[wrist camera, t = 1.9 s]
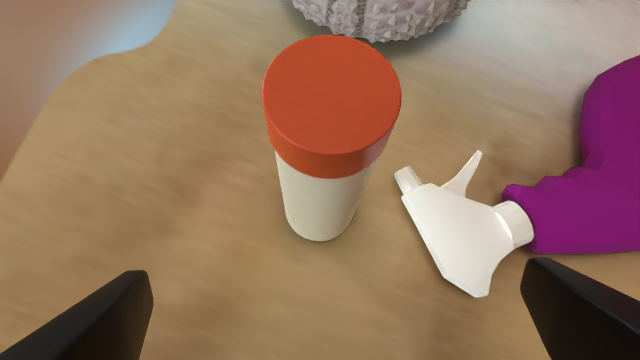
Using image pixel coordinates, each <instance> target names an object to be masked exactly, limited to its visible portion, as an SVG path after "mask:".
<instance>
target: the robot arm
mask: <svg viewBox="0 0 640 360" xmlns="http://www.w3.org/2000/svg"><path fill="white" fill-rule="evenodd" d="M520 291H521V295H522V297H523V300H524V302H525V304H526V306H527V308H528V311H529V313H530V315H531V317H532V319H533V322H534V324H535V326H536V328H537V331H538V333H539V335H540V337H541V339H542V342H543V344H544V346H545V348H546V350H547V352H548V354H549V356H550V358H551V359H552V360H640V301H638V300H636V299H634V298H632V297H630V296H628V295H625V294H623V293H621V292H619V291H617V290H615V289H613V288H611V287H609V286H606V285H604V284H602V283H600V282H598V281H596V280H594V279H592V278H590V277H588V276H585V275H583V274H581V273H579V272H577V271H575V270H573V269H571V268H569V267H567V266H564V265H562V264H560V263H558V262H556V261H554V260H552V259H550V258H547V257H535V258H530V259H528V260H527V262H526V265H525V269H524V273H523V277H522V280H521V285H520ZM152 309H153V295H152V291H151V286H150V282H149V278H148V274H147V272H146V271H144V270H132V271H126V272H124V273H123V274H121V275H120V276H118V277H116V278H115V279H113V280H112V281H110V282H109V283H107V284H106V285H104V286H103V287H101V288H100V289H98V290H97V291H95V292H94V293H92V294H91V295H89V296H88V297H86V298H84V299H83V300H81V301H80V302H78V303H77V304H75V305H74V306H72V307H71V308H69V309H68V310H66V311H65V312H63V313H62V314H60V315H59V316H57V317H55V318H54V319H52V320H51V321H49V322H48V323H46V324H45V325H43V326H42V327H40V328H39V329H37V330H36V331H34V332H33V333H31V334H30V335H28V336H26V337H25V338H23V339H22V340H20V341H19V342H17V343H16V344H14V345H13V346H11V347H10V348H8V349H7V350H5V351H4V352H2V353H1V354H0V360H139V357H140V353H141V350H142V346H143V342H144V339H145V335H146V331H147V328H148V324H149V320H150V317H151V313H152Z"/></svg>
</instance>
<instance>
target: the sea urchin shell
mask: <svg viewBox="0 0 640 360" xmlns="http://www.w3.org/2000/svg"><path fill="white" fill-rule="evenodd" d="M292 1H293V4H294V7H295V8H296V9H298V10H300V11H301V12H303V14H304V16H305V18H306V19H307V20H313V22H314V23H316V24H317V25H318V26H322V25H325V26H328V27H330V29H331V31H332V32H333V34H334V35H339V34H344V35H345V36H346V37H350V38H357V37H362V38H366V39H368V40H369V41H370V42H371V43H373V42H376V41H381V42H384V43H385V42H388V41H390V40H395V41H398V40H402V39H404V40H406V41H408V40H409V39H410V38H411V37H414V38H415V39H416V38H417V37H418V36H420V35H421V34H423V35H424V34H426V33H427V32H434V30H435V28H436V26H437V25H440V24H442V23H443V22H451V21H452V19H453V17H454V16H457V15H461V10H463V9H466V5H467V2H469V1H470V0H292Z"/></svg>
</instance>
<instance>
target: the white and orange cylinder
mask: <svg viewBox="0 0 640 360" xmlns="http://www.w3.org/2000/svg"><path fill="white" fill-rule="evenodd" d="M262 103H263V109H264V114H265V119H266V124H267V129H268V134H269V138H270V141H271V143H272V145H273V147H274V150H275V155H276V161H277V167H278V172H279V178H280V184H281V189H282V195H283V201H284V206H285V212H286V217H287V220H288V222H289V224H290V226H291V227H292V228H293V230H294V231H295V232H296V233H298V234H299V235H300V236H302V237H304V238H306V239H309V240H313V241H327V240H330V239H333V238H335V237H337V236H339V235H340V234H341V233H343V232H344V231H345V230H346V228H347V227H348V226H349V224H350V222H351V220H352V217H353V215H354V212H355V210H356V207H357V205H358V203H359V200H360V198H361V195H362V193H363V190H364V188H365V186H366V183H367V181H368V178H369V176H370V173H371V171H372V168H373V166H374V164H375V161H376V159H377V158H378V157H379V156H380V154H381V153H382V151H383V149H384V147H385V145H386V143H387V141H388V138H389V136H390V134H391V131H392V129H393V127H394V124H395V122H396V120H397V117H398V114H399V111H400V107H401V87H400V83H399V80H398V77H397V75H396V73H395V71H394V69H393V67H392V66H391V64H390V63H389V62H388V61H387V59H386V58H385V57H384V56H383V55H382V54H381V53H380V52H378V51H377V50H376V49H374V48H373V47H371V46H369V45H368V44H366V43H364V42H362V41H359V40H357V39H354V38H350V37H346V36H341V35H319V36H313V37H309V38H305V39H303V40H300V41H298V42H296V43H294V44H292V45H290V46H289V47H287V48H286V49H284V50H283V51H282V52H281V53H280V54H278V56H277V57H276V58H275V59H274V60H273V61H272V63H271V64H270V66H269V68H268V70H267V72H266V74H265V77H264V80H263V84H262Z"/></svg>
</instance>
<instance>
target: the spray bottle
mask: <svg viewBox="0 0 640 360" xmlns="http://www.w3.org/2000/svg"><path fill="white" fill-rule="evenodd" d="M580 147H581V156H582V162H583V163H582V165H581V166H580V167H573V168H570V169H569V170H567V171H566V172H565V173H564V174H563V175H562V176H545V177H544V178H543V179H542V180H541V181H540V182H539V183H538V184H537V185H536V186H535V187H531V186H523V185H516V184H511V185H507V186H506V188H505V189H504V191H503V193H502V203H500V204H498V205H496V206H493V207H491V206H488V205H485V204H482V203H479V202H476V201H473V200H470V199H467V198H465V195H466V187H467V185H468V183H469V181H470V179H471V178H472V176H473V174H474V172H475V170H476V168H477V166H478V164H479V161H480V158H481V156H482V153H483V152H481V151H479V150H478V151H477V152H476V153H475V154H474V155H473V156H472V157H471V159H470V160H469V161H468V162H467V163H466V165H465V166H464V167H463V168H462V169H461V171H460V172H459V173H458V174H457V175H456V176H455V177H454V178H453V179H452V180H450V181H448V182H447V183H445V184H444V185H442V186H440V187H439V186H436V185H434V184H432V183H428V184H425V185H423V184H422V183H421V181H420V180H419V178H418V177H417V175H416V174H415V172H414V171H413V170H412V168H411V167H410V166H406V167H404V168H402V169H400V170H399V171H397V172H396V173H395V174H394V177H395V179H396V181H397V183H398V184H399V186H400V188H401V190H402V192H403V194H404V195H403V196H402V197H401V198H402V200H403V202H404V204H405V206H406V208H407V210H408V212H409V214H410V215H411V217H412V219H413V221H414V223H415V225H416V227H417V229H418V231H419V232H420V234H421V236H422V238H423V240H424V242H425V244H426V246H427V248H428V249H429V251H430V253H431V255H432V257H433V259H434V261H435V263H436V265H437V266H438V268H439V270H440V272H441V274H442V276H443V277H444V278H445V279H447V280H448V281H450V282H451V283H453V284H455V285H456V286H458V287H459V288H461V289H462V290H464V291H466V292H467V293H469V294H470V295H472V296H473V297H475V298H476V297H482V296H487V295H488V293H489V287H490V282H491V277H492V274H493V272H494V270H495V269H496V267H497V265H498V264H499V262H500V260H502V259H503V258H504V257H505V256H506V255H507V254H509V253H510V252H511V251H512V250H513V249H515V248H518V247H520V246H522V245H524V244H526V246H527V247H528V248H529V249H530V250H532V251H533V252H534V253H555V254H595V253H618V252H626V251H635V250H640V55H639V56H636V57H633V58H631V59H628V60H626V61H623V62H621V63H620V64H618V65H616V66H614V67H612V68H610V69H608V70H607V71H605V72H603V73H601V74H600V75H598V76H597V77H596V79H595V80H594V82H593V83H592V85H591V86H590V88H589V89H588V91H587V92H586V94H585V97H584V103H583V109H582V115H581V121H580Z"/></svg>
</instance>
